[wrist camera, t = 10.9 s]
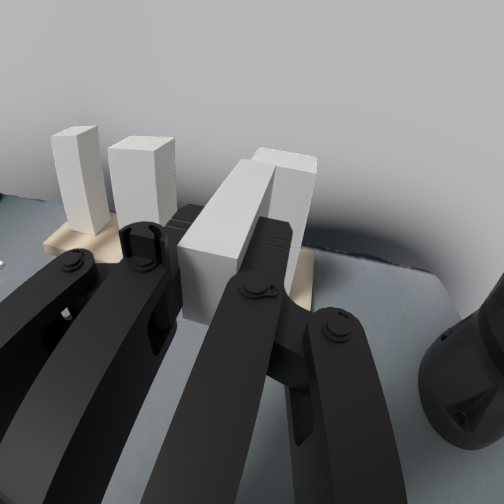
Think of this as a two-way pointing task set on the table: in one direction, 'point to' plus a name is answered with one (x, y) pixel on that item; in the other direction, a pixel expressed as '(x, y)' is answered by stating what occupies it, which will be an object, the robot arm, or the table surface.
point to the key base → (110, 251)
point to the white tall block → (143, 179)
